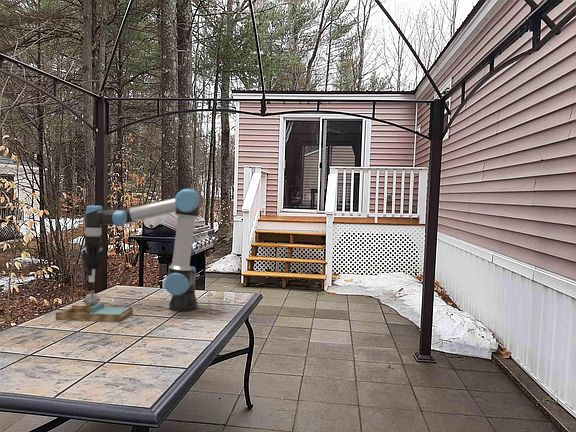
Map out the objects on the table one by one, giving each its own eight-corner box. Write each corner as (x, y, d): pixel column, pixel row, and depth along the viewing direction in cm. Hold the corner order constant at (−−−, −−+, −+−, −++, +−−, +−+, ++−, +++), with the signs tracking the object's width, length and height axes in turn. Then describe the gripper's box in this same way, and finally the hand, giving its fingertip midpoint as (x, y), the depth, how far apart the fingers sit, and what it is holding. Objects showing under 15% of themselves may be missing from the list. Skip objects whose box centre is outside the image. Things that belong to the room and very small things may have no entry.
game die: (93, 315, 219) (94, 302, 213) (78, 309, 219) (79, 296, 214) (103, 304, 226) (104, 291, 221) (89, 297, 227) (90, 285, 221)
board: (132, 314, 210) (132, 307, 210) (119, 322, 195) (120, 315, 195) (72, 311, 211) (72, 305, 211) (55, 319, 196) (55, 312, 196)
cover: (129, 309, 209) (129, 303, 209) (118, 316, 196) (119, 309, 196) (101, 308, 209) (102, 301, 209) (89, 314, 197) (89, 307, 196)
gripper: (99, 234, 219) (97, 279, 219) (76, 235, 208) (75, 282, 208) (109, 235, 216) (107, 280, 216) (86, 236, 204) (85, 284, 204)
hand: (91, 281), depth 212 cm, fingers closed
